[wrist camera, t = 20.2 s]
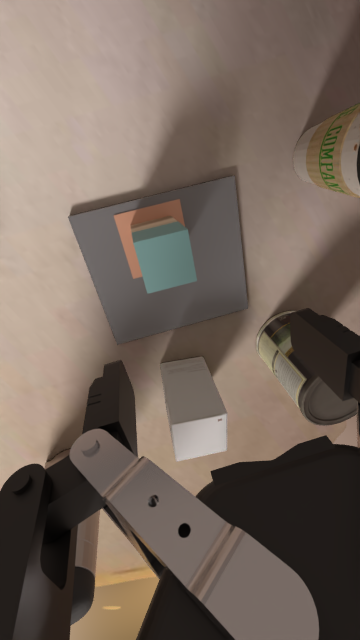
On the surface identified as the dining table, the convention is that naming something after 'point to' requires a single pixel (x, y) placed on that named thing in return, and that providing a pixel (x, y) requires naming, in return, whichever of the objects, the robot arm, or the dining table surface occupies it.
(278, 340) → the coffee can
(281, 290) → the dining table surface
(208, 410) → the supplement box
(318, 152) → the coffee cup
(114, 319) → the baseplate
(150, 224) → the ash block
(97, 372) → the dining table surface
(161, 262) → the teal block
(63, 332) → the dining table surface
